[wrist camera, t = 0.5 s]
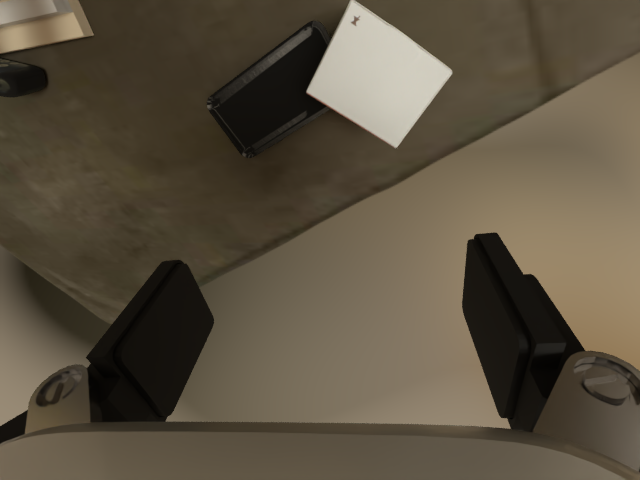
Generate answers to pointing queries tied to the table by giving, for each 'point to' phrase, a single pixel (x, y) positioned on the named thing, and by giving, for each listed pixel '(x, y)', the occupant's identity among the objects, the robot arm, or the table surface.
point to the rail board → (40, 23)
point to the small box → (376, 75)
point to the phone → (272, 93)
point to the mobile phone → (19, 78)
